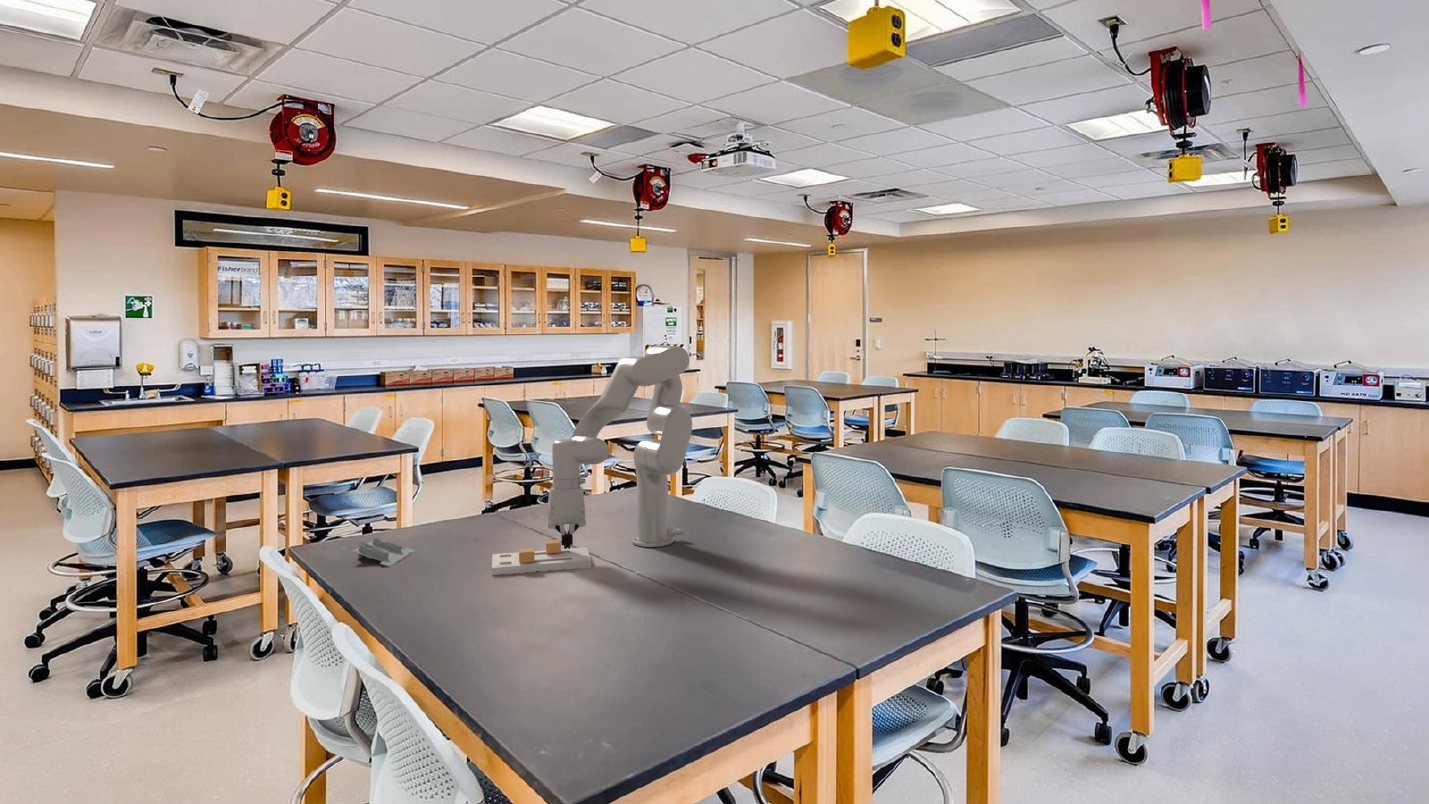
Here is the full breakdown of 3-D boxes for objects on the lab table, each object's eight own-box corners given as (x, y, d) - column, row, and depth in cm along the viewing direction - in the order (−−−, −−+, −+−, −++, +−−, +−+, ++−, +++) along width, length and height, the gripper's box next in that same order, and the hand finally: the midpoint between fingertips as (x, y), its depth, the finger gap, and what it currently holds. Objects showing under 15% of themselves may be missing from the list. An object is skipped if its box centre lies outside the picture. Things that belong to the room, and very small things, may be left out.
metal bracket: (346, 546, 209) (375, 531, 223) (341, 565, 209) (371, 550, 224) (395, 561, 208) (421, 546, 223) (390, 581, 208) (416, 565, 223)
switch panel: (586, 554, 220) (586, 546, 220) (591, 567, 207) (591, 559, 207) (492, 561, 213) (492, 553, 213) (492, 575, 201) (491, 567, 200)
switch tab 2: (560, 549, 217) (559, 539, 216) (560, 552, 213) (560, 542, 213) (545, 550, 215) (545, 540, 215) (546, 553, 212) (546, 543, 212)
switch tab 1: (534, 558, 208) (533, 548, 208) (534, 561, 204) (534, 551, 204) (518, 559, 207) (518, 549, 207) (519, 563, 203) (519, 552, 203)
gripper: (591, 479, 219) (592, 542, 221) (538, 482, 215) (539, 545, 217) (594, 484, 212) (595, 549, 214) (539, 487, 208) (540, 553, 210)
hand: (567, 547), depth 215 cm, fingers closed
